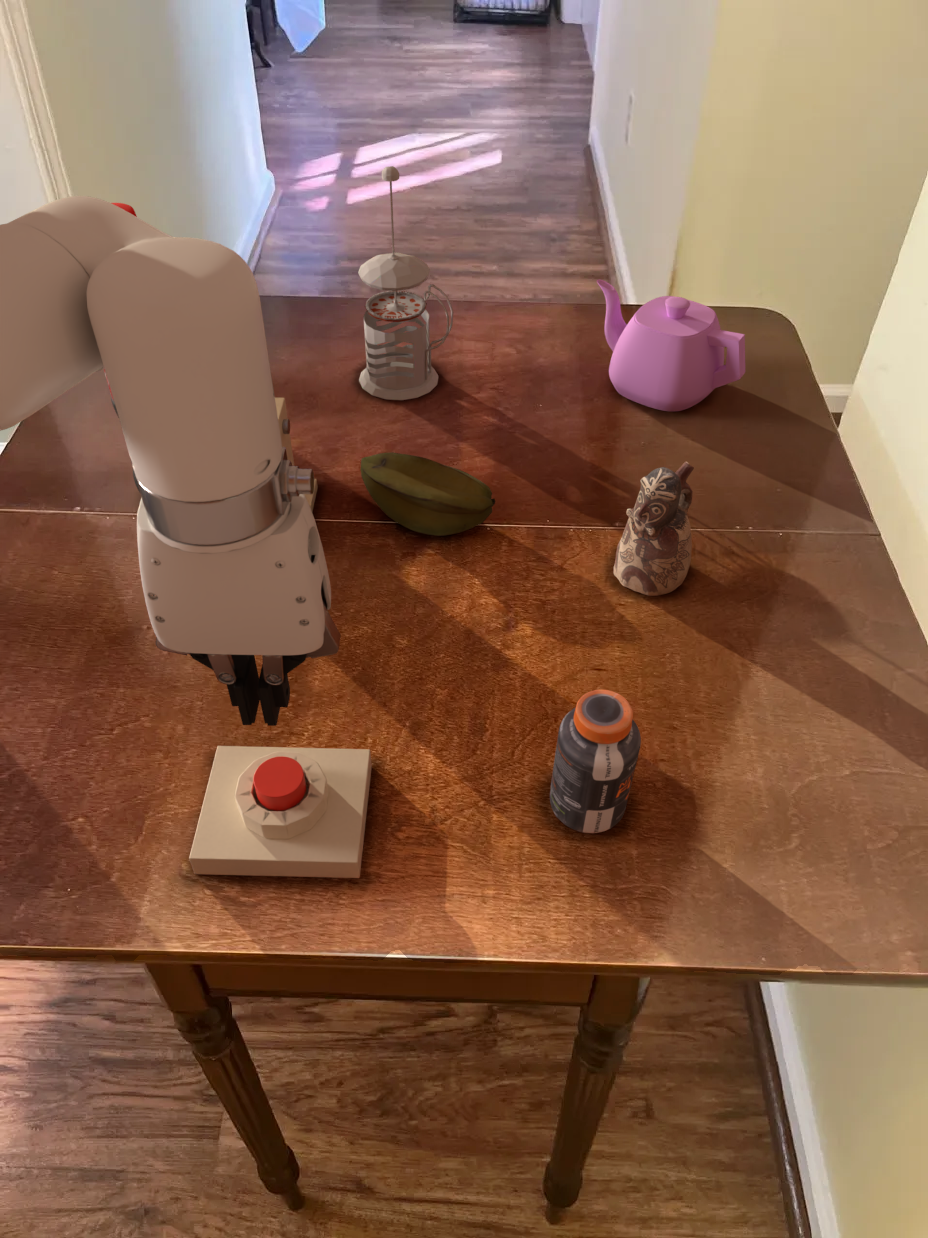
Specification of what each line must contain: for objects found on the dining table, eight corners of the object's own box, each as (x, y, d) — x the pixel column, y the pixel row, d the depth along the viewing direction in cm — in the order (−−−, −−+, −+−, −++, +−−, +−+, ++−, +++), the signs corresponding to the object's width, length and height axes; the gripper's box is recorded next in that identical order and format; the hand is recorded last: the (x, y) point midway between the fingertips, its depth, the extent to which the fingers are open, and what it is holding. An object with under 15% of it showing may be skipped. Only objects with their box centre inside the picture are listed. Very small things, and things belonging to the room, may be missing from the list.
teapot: (612, 338, 124) (623, 255, 116) (756, 386, 116) (778, 301, 108) (560, 382, 117) (567, 296, 109) (709, 437, 109) (730, 349, 101)
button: (252, 810, 69) (249, 796, 67) (261, 769, 71) (258, 755, 70) (302, 811, 69) (299, 797, 67) (309, 770, 71) (306, 756, 70)
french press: (374, 352, 121) (361, 145, 103) (462, 366, 119) (464, 157, 101) (347, 392, 114) (328, 178, 97) (439, 408, 112) (437, 191, 95)
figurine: (599, 557, 94) (614, 457, 85) (660, 539, 96) (681, 439, 87) (637, 604, 89) (657, 503, 81) (701, 583, 91) (727, 482, 83)
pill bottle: (623, 841, 71) (645, 750, 63) (544, 829, 72) (556, 737, 64) (627, 777, 75) (649, 683, 67) (553, 765, 76) (565, 671, 68)
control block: (194, 874, 69) (183, 845, 66) (222, 762, 76) (213, 731, 73) (359, 878, 69) (355, 849, 66) (371, 765, 76) (368, 734, 73)
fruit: (394, 563, 93) (391, 510, 88) (358, 492, 101) (353, 440, 96) (501, 536, 96) (504, 483, 91) (458, 469, 104) (458, 418, 99)
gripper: (366, 448, 53) (383, 669, 66) (92, 442, 53) (163, 664, 66) (352, 536, 47) (373, 757, 60) (47, 529, 47) (134, 751, 61)
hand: (263, 708), depth 63 cm, fingers closed
